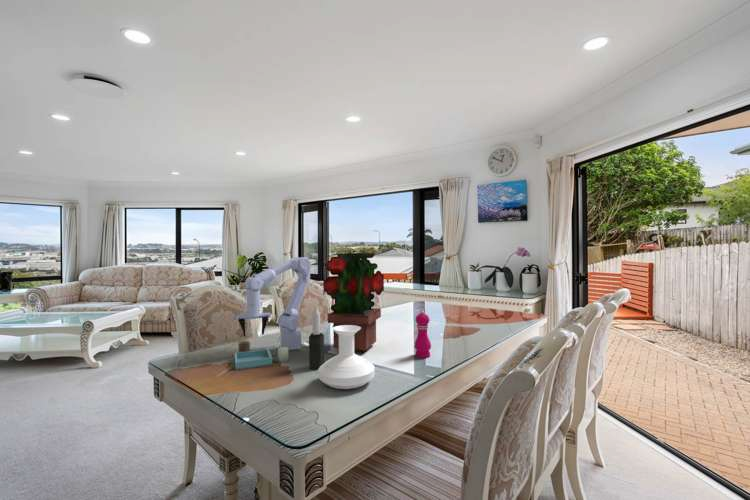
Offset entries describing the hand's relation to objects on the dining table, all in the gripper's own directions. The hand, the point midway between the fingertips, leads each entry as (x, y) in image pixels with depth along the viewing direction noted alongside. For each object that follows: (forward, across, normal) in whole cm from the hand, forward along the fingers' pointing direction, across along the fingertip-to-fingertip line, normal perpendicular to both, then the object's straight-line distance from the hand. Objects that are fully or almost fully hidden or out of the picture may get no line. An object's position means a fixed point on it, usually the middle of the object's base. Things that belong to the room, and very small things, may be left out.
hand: (253, 334), depth 155 cm
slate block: (+10, -7, 0) cm, 12 cm away
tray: (+9, +1, +9) cm, 13 cm away
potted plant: (+10, -45, +8) cm, 47 cm away
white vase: (+10, -28, +46) cm, 55 cm away
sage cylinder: (+10, -11, +11) cm, 18 cm away
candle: (+10, -22, +26) cm, 35 cm away
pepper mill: (+10, -68, +31) cm, 75 cm away
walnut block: (+10, +4, -3) cm, 11 cm away
